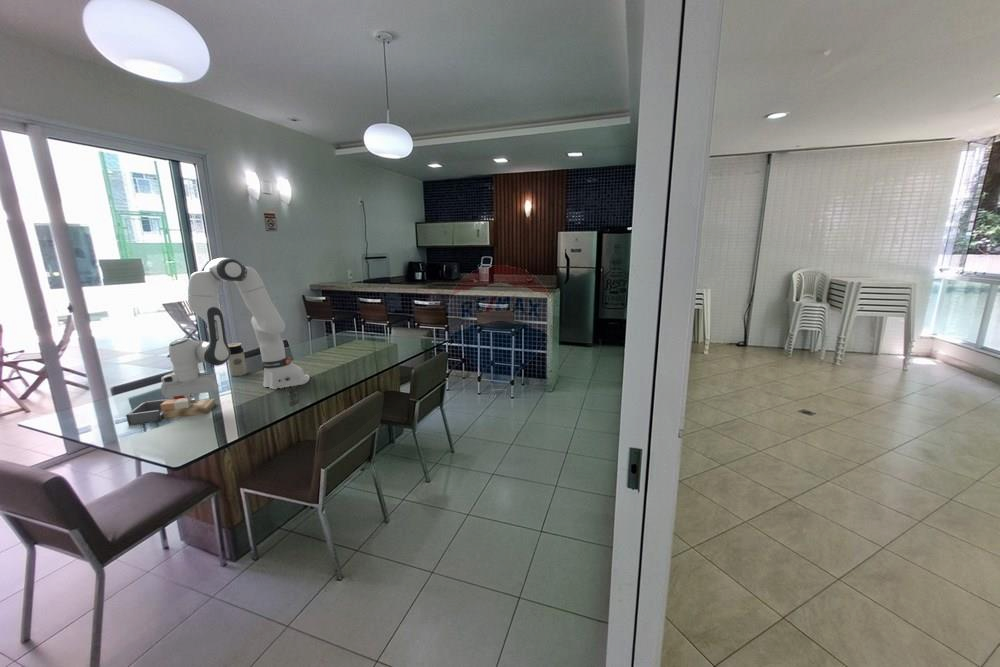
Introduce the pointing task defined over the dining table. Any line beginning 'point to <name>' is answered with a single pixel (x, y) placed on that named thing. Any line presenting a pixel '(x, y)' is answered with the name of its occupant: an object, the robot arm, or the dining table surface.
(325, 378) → the dining table surface
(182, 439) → the dining table surface
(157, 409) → the box
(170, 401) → the tile terracotta
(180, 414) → the wooden board
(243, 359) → the travel mug
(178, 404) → the tile ivory
